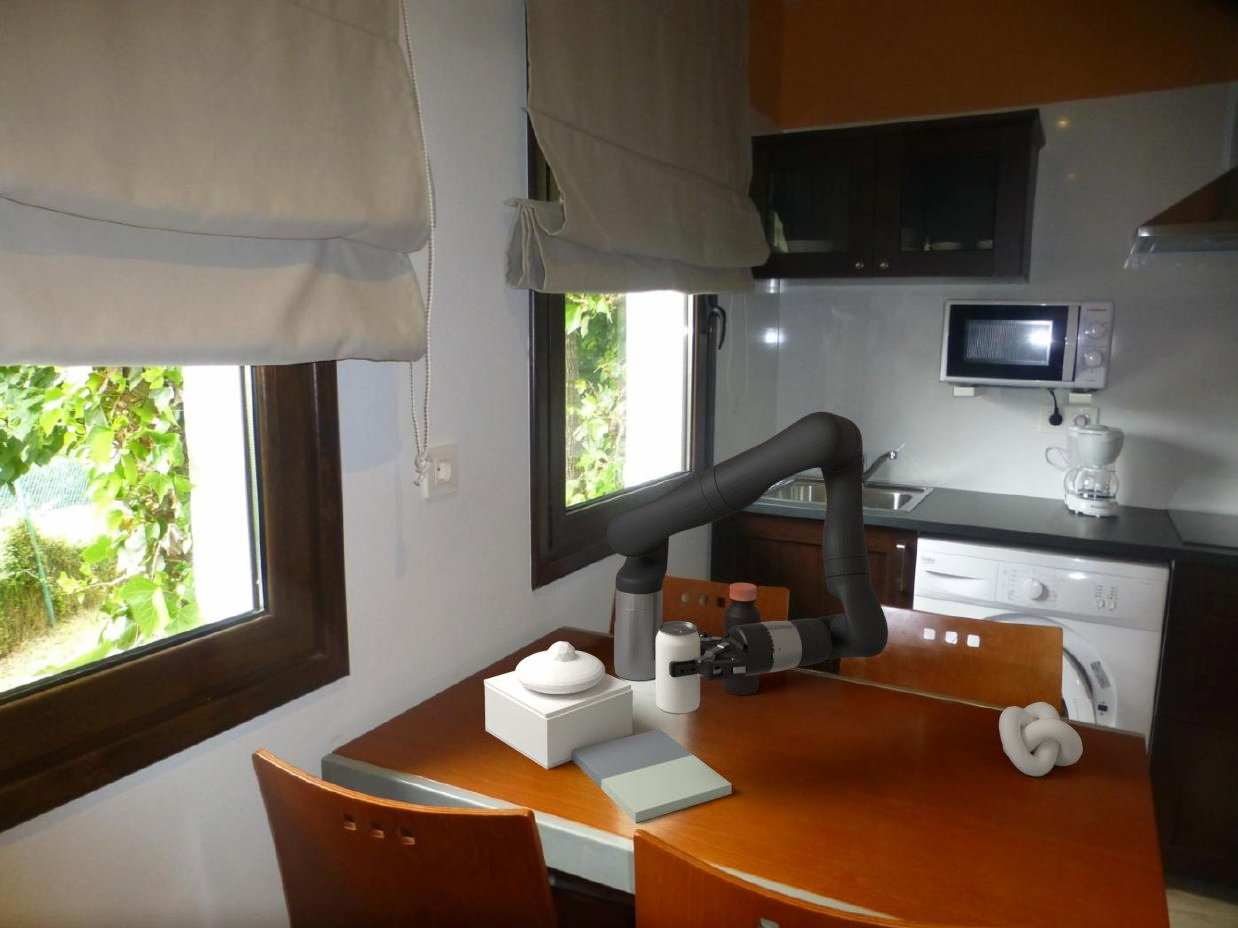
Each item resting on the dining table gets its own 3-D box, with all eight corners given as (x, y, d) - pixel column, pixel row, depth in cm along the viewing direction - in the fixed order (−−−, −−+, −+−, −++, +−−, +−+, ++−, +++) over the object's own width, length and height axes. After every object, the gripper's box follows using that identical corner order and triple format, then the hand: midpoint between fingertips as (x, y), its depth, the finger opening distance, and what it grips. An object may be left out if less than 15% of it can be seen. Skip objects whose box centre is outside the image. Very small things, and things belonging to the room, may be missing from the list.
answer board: (571, 759, 132) (571, 750, 132) (659, 737, 140) (659, 728, 140) (635, 822, 115) (635, 812, 115) (731, 793, 123) (731, 783, 122)
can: (699, 696, 128) (699, 620, 126) (700, 716, 121) (700, 636, 119) (656, 695, 128) (656, 619, 126) (655, 714, 122) (654, 635, 120)
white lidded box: (547, 770, 129) (546, 671, 127) (483, 730, 143) (482, 639, 140) (632, 736, 141) (633, 644, 138) (566, 701, 154) (566, 617, 152)
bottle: (732, 678, 165) (735, 579, 162) (764, 687, 161) (767, 585, 158) (715, 690, 159) (718, 587, 156) (748, 699, 155) (751, 593, 153)
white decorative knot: (1038, 792, 124) (1043, 734, 122) (972, 756, 134) (976, 702, 133) (1090, 775, 128) (1095, 719, 127) (1022, 742, 139) (1026, 690, 138)
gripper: (742, 609, 135) (643, 621, 129) (789, 639, 121) (681, 653, 116) (741, 654, 136) (643, 668, 130) (788, 688, 122) (681, 706, 117)
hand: (661, 661), depth 123 cm, fingers closed on can, 6 cm apart
